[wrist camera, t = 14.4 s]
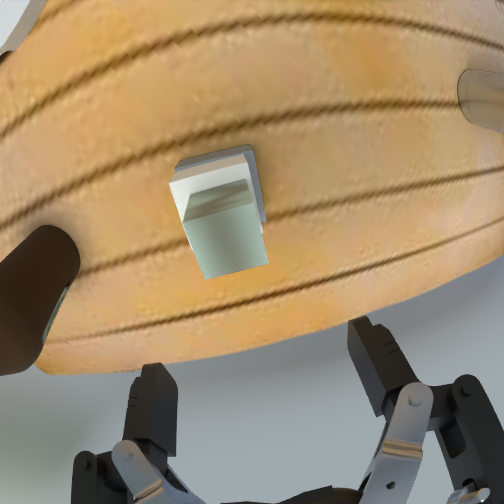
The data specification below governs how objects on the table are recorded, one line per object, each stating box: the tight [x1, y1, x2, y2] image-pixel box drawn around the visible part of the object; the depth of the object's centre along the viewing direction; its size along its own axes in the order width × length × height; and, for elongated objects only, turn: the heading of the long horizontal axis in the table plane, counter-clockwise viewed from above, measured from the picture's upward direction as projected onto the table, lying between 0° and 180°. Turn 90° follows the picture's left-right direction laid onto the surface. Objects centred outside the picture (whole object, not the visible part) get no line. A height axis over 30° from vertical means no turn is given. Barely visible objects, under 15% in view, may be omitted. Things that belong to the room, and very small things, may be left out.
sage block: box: [182, 179, 269, 280], centre depth 22 cm, size 5×5×6 cm
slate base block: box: [175, 144, 267, 223], centre depth 30 cm, size 8×8×4 cm
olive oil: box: [0, 226, 80, 376], centre depth 22 cm, size 11×11×25 cm
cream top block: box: [169, 154, 263, 251], centre depth 27 cm, size 7×7×4 cm
